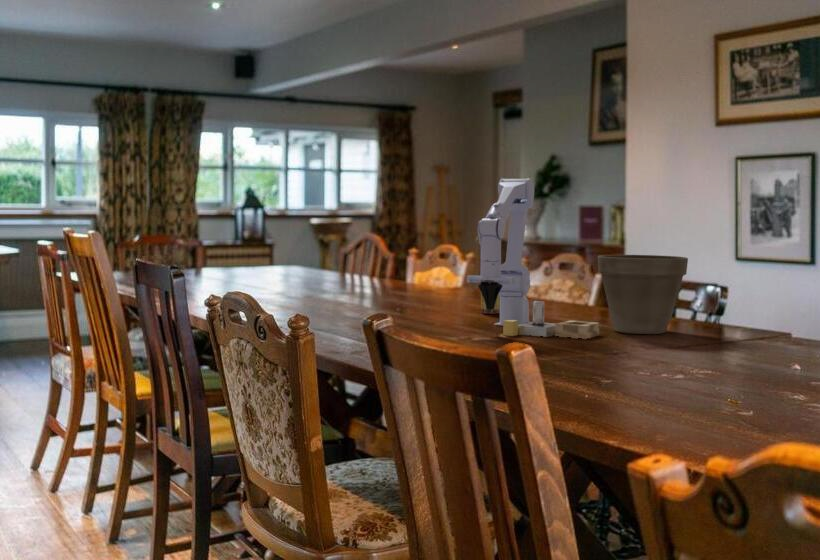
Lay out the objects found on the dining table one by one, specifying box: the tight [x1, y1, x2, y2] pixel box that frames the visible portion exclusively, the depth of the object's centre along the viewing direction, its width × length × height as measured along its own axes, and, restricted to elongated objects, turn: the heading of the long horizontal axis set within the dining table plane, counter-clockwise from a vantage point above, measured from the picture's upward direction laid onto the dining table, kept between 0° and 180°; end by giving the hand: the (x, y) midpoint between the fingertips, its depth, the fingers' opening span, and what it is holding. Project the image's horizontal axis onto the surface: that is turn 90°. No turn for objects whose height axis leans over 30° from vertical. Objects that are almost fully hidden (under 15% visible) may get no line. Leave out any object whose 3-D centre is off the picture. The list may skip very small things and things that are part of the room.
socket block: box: [517, 321, 556, 338], centre depth 267 cm, size 10×10×2 cm
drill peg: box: [532, 300, 545, 326], centre depth 267 cm, size 3×3×9 cm
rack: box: [554, 320, 600, 340], centre depth 263 cm, size 9×9×4 cm
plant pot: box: [597, 254, 689, 335], centre depth 271 cm, size 25×25×22 cm
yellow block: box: [502, 320, 518, 337], centre depth 265 cm, size 3×3×4 cm
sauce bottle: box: [480, 280, 500, 315], centre depth 314 cm, size 6×6×20 cm
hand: (490, 309), depth 268 cm, fingers closed
